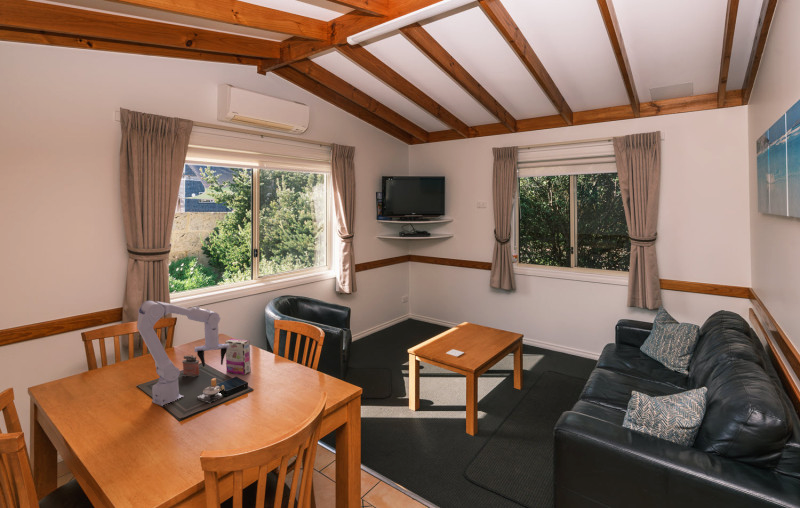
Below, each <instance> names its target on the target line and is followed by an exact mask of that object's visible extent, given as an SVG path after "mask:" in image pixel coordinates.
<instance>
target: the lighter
mask: <svg viewBox="0 0 800 508" xmlns="http://www.w3.org/2000/svg"><path fill="white" fill-rule="evenodd" d="M181 363H182V370H183V371H182V372H183V374H182V375H186V376H198V375H199V374H200V366H199V364H200V361H199V359H197V356H193V355H184V356H183V360H182V362H181ZM186 376H185V377H186ZM198 377H199V376H198Z"/></svg>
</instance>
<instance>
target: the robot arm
mask: <svg viewBox="0 0 800 508" xmlns="http://www.w3.org/2000/svg"><path fill="white" fill-rule="evenodd" d="M137 312H138V315H137V324H136V328H137V331H138V332H139V334H140V336H141V338H142V339H143V342H144V344H145V345H146V348H147V349H148V351H149V353H150V355H151V356H152V358H153V361H154V365H155V368H156V369H155V372H156V375H158V376H159V377H158V381H157V382H156V383H155V384H154V385H152V388H151V391H152V396H151V397H152V401H151V402H152V403H153V404H156V405H158V406H160V407H164V406H163V405H164V404H165V403H170V402H172V401H174V402H176V401H178V400H180V399H179V398H181V397H183V398H184V397H185V396H184V395H182V394H180V390H179V389H180V388H179V387H180V386H179V377H180V373H181V372H180V369H179V368H178V367H176V366H175V364H174V363H173V361H172V360H171V359H170V358H169V356H168V354H167V351H166V350H165V348H164V346H163V344H162V342H161V341H160V338H159V336H158V334H157V333H156V331H155V329H154V326H155V325H156V323H157V322H159V320H160V319H161V318H162V317H163V316H167V315H169V314H176V315H180V316H186V317H187V319H188V320H190V321H195V322H200V323H204V324H203V325H204V345H200V346H195V347H194V353H196V354H197V356H198V358H199V359H200V363H201V365H202V367H206V363H205V362H206V360H205V351H207V352H208V351H215V350H216V351H217V350H220V365H221V366H223V365H224V364H223V363H224V358H225V357H226V351H227V349H229V344H225V343H220V342H219V339H220V337H219V336H220V335H219V323H220V321H221V316H220V314H219V313H217V312H215V311H213V310H211V309H208V308H207V309H206V308H205V309H204V308H201V307H200V306H197V305H196V306H192V307H190V308H187V307H183V306H179V305H176V304H172V303H169V302H165V301H164V302H163V301H154V300H146V301H144V302H143V303H141V305H140V307H139V308H138V309H137ZM177 399H178V400H177ZM181 399H182V398H181ZM175 400H176V401H175ZM172 403H173V402H172ZM170 404H171V403H170Z"/></svg>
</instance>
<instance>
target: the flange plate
mask: <svg viewBox="0 0 800 508" xmlns="http://www.w3.org/2000/svg"><path fill="white" fill-rule="evenodd" d="M210 381H211V382H210V385H211V386H208V387H205V388H204V389H202V393H203V394H204V395H214V394H217V393H219V392H220V391H222V390H221V386H219V385H217V378H216V377H214V378H212V379H210Z"/></svg>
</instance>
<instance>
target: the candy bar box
mask: <svg viewBox="0 0 800 508" xmlns="http://www.w3.org/2000/svg"><path fill="white" fill-rule="evenodd" d="M224 344H229V349H227V351H226V353H225V361H226V363H225V365H226V373H227V372H229V374H235V375H241V376H242V375H243V376H246V375H247V374H249V373H251V372H252V371H251V370H252V369H251V350H250V349H251V348H250V345H251V344H250V340H247V339H238V338H230V339H228V340H225V342H224Z"/></svg>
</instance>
